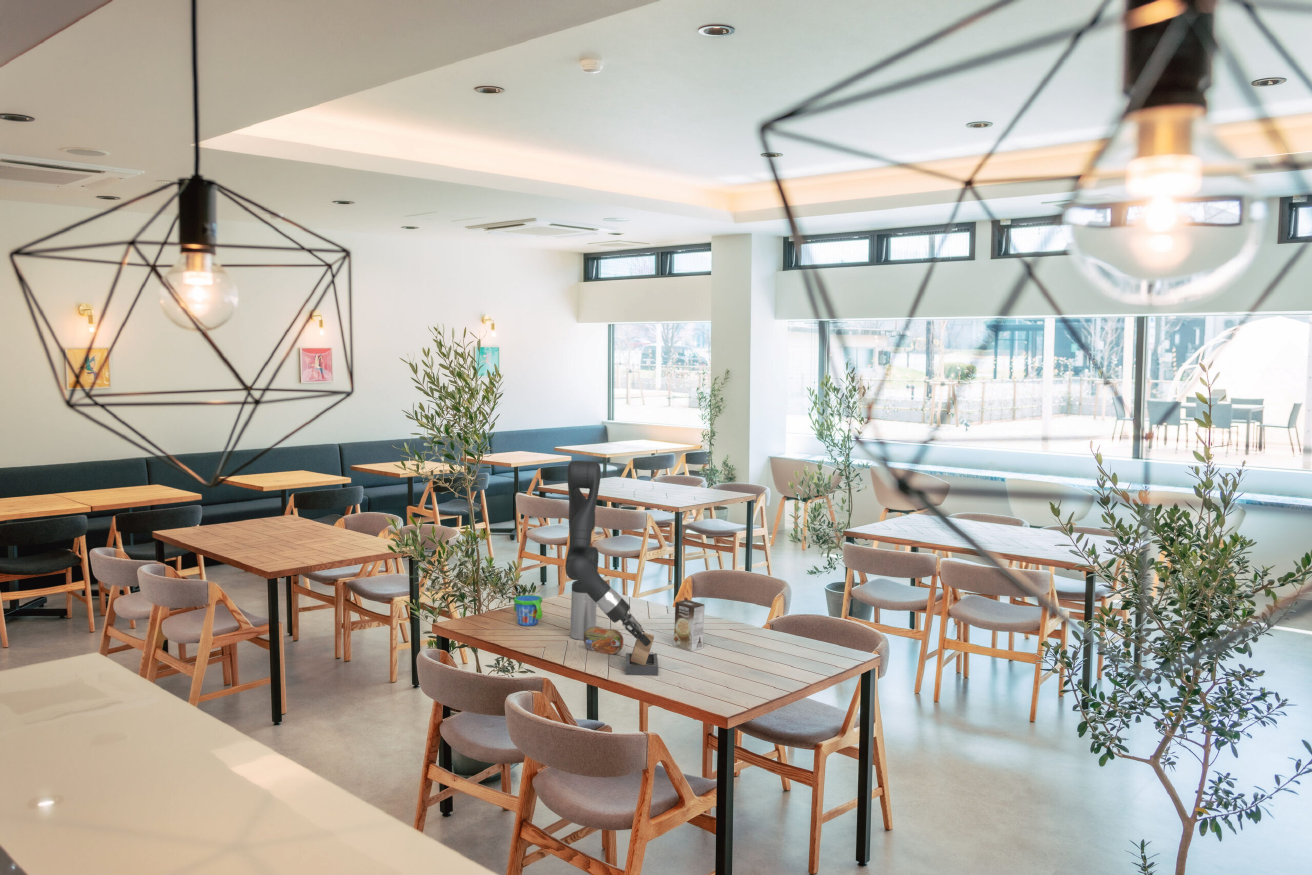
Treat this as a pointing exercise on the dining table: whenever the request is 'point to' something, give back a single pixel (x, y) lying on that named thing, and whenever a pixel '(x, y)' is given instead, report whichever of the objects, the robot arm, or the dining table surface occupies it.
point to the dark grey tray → (642, 666)
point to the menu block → (641, 650)
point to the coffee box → (689, 625)
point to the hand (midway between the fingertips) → (648, 642)
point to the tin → (603, 640)
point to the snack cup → (528, 609)
